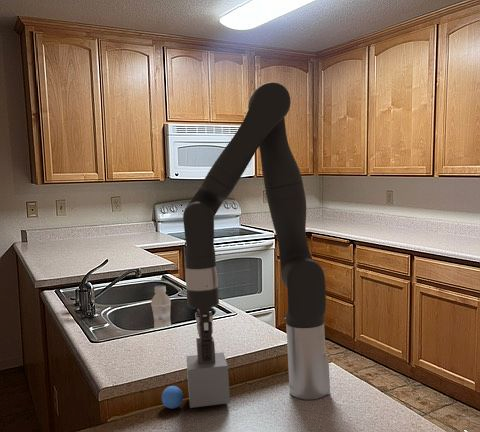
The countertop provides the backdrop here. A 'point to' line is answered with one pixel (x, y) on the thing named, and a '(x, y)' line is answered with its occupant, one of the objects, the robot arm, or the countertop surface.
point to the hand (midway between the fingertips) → (206, 356)
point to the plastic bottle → (161, 307)
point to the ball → (172, 397)
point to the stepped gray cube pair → (207, 378)
